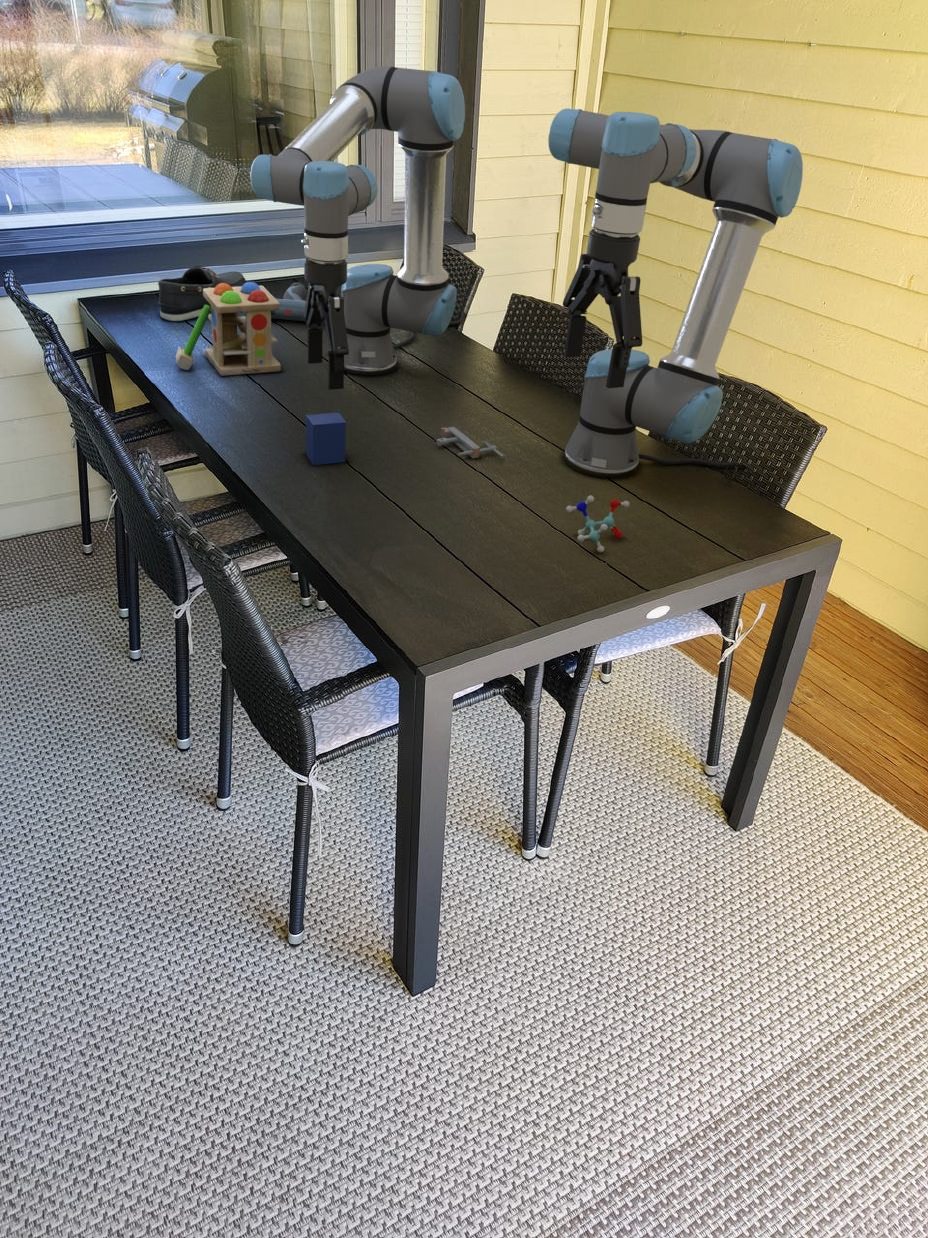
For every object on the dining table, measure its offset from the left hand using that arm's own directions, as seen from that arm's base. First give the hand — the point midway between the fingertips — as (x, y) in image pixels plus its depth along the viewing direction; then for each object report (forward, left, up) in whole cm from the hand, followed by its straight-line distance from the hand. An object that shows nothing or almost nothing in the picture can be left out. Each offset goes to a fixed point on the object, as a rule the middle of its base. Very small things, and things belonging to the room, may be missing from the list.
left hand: (325, 375), depth 184 cm
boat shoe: (-29, -94, -17) cm, 100 cm away
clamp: (-26, +13, -17) cm, 34 cm away
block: (0, 0, -17) cm, 17 cm away
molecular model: (-20, +53, -17) cm, 59 cm away
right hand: (-15, +51, +15) cm, 55 cm away
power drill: (-49, -76, -17) cm, 93 cm away
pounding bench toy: (-10, -53, -17) cm, 57 cm away
